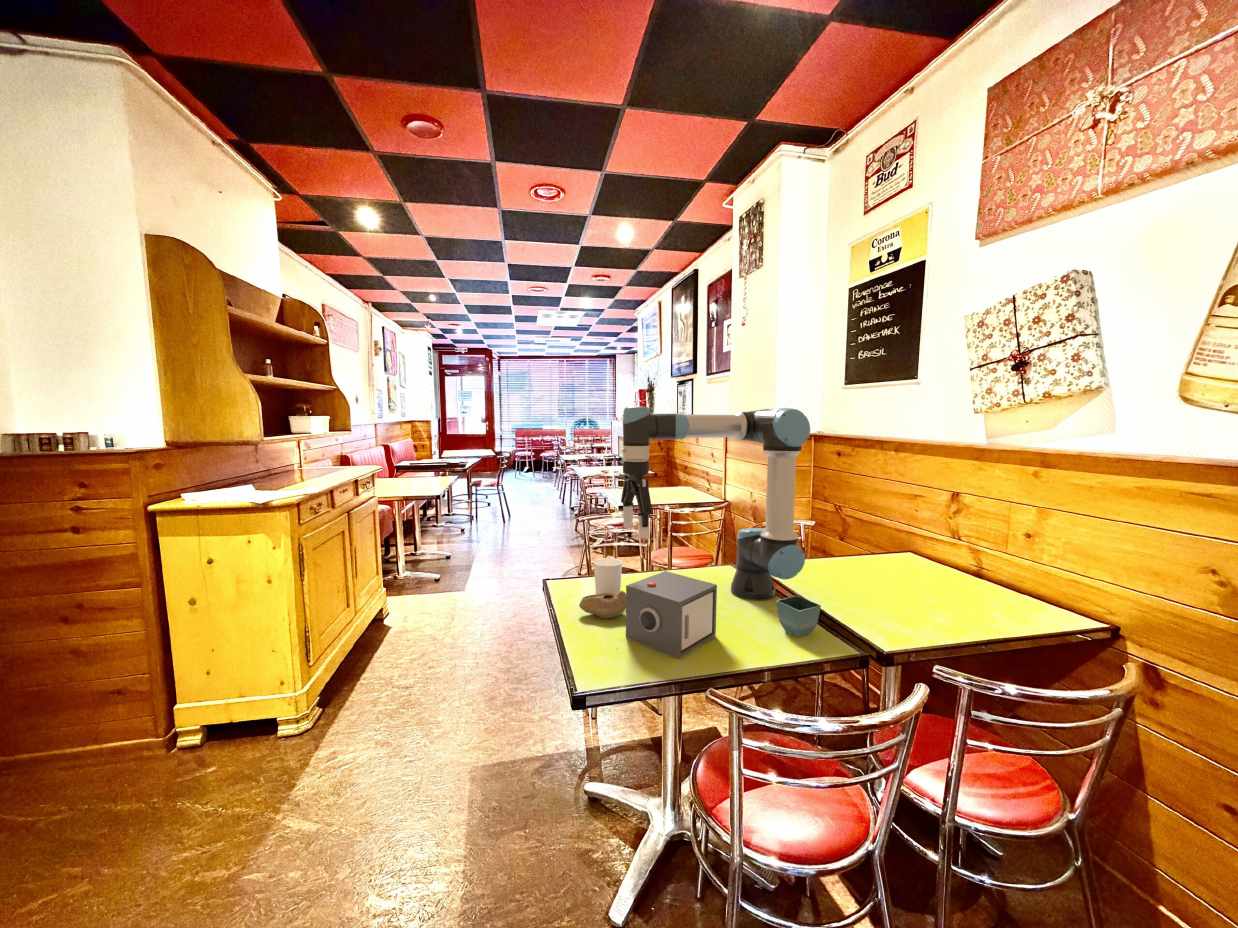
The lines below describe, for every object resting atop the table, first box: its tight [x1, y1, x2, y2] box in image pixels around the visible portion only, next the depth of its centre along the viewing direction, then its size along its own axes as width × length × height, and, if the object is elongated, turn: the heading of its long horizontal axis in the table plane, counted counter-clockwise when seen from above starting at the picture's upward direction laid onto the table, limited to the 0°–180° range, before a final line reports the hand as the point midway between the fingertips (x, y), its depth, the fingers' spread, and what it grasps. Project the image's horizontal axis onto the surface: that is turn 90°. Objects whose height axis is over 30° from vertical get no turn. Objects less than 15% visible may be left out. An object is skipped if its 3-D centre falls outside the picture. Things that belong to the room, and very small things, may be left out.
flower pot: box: [776, 595, 822, 638], centre depth 138 cm, size 9×9×9 cm
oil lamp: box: [578, 590, 626, 620], centre depth 150 cm, size 11×15×8 cm
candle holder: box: [593, 557, 623, 595], centre depth 167 cm, size 10×10×12 cm
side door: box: [681, 591, 713, 650], centre depth 129 cm, size 15×1×12 cm, turn 137°
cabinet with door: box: [625, 570, 718, 660], centre depth 134 cm, size 20×18×16 cm
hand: (635, 532), depth 141 cm, fingers open, 13 cm apart
